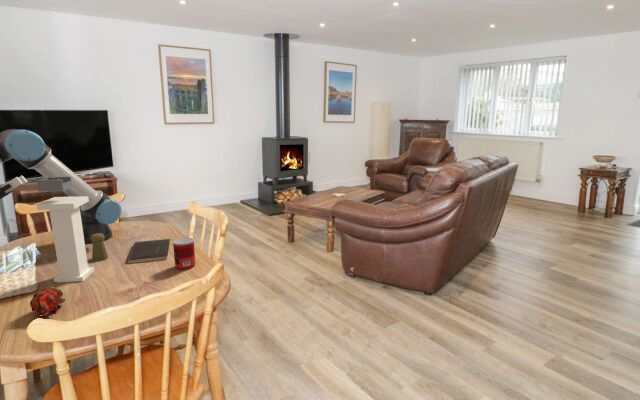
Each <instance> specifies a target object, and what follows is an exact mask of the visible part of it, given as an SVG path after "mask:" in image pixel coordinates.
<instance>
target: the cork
mask: <svg viewBox="0 0 640 400" xmlns="http://www.w3.org/2000/svg"><path fill="white" fill-rule="evenodd" d="M90 239H91V241H92V245H91V246H92V247H91V249H92V253H91V255H92V256H91V257H92V260H91V261H92V262H93V261H94V262H101V261H104V260H107V259H108V258H109V256H108V252H107V248H106V244H105V242H104V241H105V240H104V235H103V234H102V233H96V234H93V235H91V238H90Z"/></svg>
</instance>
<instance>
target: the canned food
mask: <svg viewBox="0 0 640 400" xmlns="http://www.w3.org/2000/svg"><path fill="white" fill-rule="evenodd" d="M172 245H173V248H172V249H173V258H174V267H175V269H177V270H180V271H181V270H185V271H186V270H188V269H189V270H190V269H192V268H193V267H195V266H196V255H195V254H196V253H195V240H194V238H192V237H181V238H180V237H179V238H177V239H175V240H173V244H172Z"/></svg>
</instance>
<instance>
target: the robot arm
mask: <svg viewBox="0 0 640 400" xmlns="http://www.w3.org/2000/svg"><path fill="white" fill-rule="evenodd" d="M12 159H14V160H15V161H17V162H18V163H19V164H21V165H22V166H23V167H24V168H26V169H28V170H31V169H32V170H35V171H36V172H38V173H39V174H40V175H42V176H43V178H46V177H71V180H72V188H69V189H67V190H64V191H63V192H64V193H65V194H66V195H67V196H68V197H79V196H88V199H89V202H87V203H85V204H83V205H81V206H79V207H80V214H81V221H82V228H83V235H84V242H85V244H88V243H89V244H91V243H92V244H93V242H92V241H91V239H90V238H91V235H93V234H96V233H102V234H103V235H104V241H107V240H109V239H111V238H112V237H113V231H112V229H111V227H110V225H111V224H114V223H116V222H117V221H118V220H119V218H120V217H121V216H122V205H121V204H120V203H119V202H118V201H117V200H115V199H112V198H111V197H109V196H108V195H107V194H106V193H105V192H103V191H102V190H96V189H94V188H93V187H92V186H91V185H89V184H88V183H87V182H86V181H84V180H83V178H81V177H80V176H78V175H77V174H76V173H75V172H74V171H72V170H71V169H70V168H69V167H67V166H66V164H64V163H63V162H62V161H61V160H59V159H58V158H57V157H56V156H55V155H53V154H52V149H51V147H50V146H48V145H47V144H46V143H45V141H44V140H43V138H42V137H41V136H40V135H39V134H37V133H36V132H34V131H31V130H28V129H17V128H12V129H11V128H10V129H9V128H8V129H6V130H3V131H1V132H0V164H4V163H6V162H7V161H10V160H12ZM3 184H4V185H2V186H1V188H0V200H1V199H3V198H5V197H6V196H8V195H11V194H12V193H13V192H15V191H11V190H12V189H14V188H16V187H17V186H19V185H21V184H28V180H27V179H26V178H25V177H24V176H23V175H20V176H19V177H18V176H15V178H12V179H11V180H9V181H7V182H6V183H3Z"/></svg>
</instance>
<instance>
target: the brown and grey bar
mask: <svg viewBox="0 0 640 400" xmlns="http://www.w3.org/2000/svg"><path fill="white" fill-rule="evenodd" d="M36 182H37V183H25V184H21V185H19V186H17V187H16V188H14V189H12V190H11V191H14V192H24V191H25V192H27V191H28V192H29V191H38V193H39V192H64V190H67V189H69V188H72V180H71V177H46V178H45V177H43V178H41V179H37V180H36ZM4 184H5V183H2V184H0V188H1V186H2V185H4Z"/></svg>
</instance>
